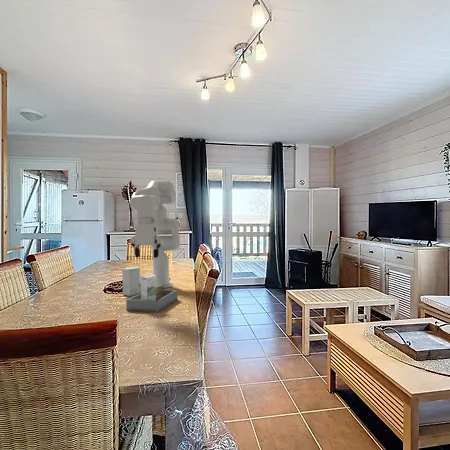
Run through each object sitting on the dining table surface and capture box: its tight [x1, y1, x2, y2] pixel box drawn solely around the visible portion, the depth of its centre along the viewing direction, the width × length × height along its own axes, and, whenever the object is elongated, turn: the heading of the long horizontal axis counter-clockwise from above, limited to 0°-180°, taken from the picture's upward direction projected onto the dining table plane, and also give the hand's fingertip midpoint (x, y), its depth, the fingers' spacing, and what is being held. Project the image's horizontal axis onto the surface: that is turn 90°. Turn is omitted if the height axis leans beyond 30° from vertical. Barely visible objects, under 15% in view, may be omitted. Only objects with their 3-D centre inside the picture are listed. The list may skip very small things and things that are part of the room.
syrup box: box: [139, 274, 157, 301], centre depth 152 cm, size 6×6×14 cm
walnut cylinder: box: [156, 285, 165, 300], centre depth 163 cm, size 5×5×7 cm
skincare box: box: [121, 266, 141, 297], centre depth 181 cm, size 8×6×15 cm
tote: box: [125, 289, 178, 313], centre depth 158 cm, size 22×16×5 cm
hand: (146, 257), depth 152 cm, fingers open, 9 cm apart
